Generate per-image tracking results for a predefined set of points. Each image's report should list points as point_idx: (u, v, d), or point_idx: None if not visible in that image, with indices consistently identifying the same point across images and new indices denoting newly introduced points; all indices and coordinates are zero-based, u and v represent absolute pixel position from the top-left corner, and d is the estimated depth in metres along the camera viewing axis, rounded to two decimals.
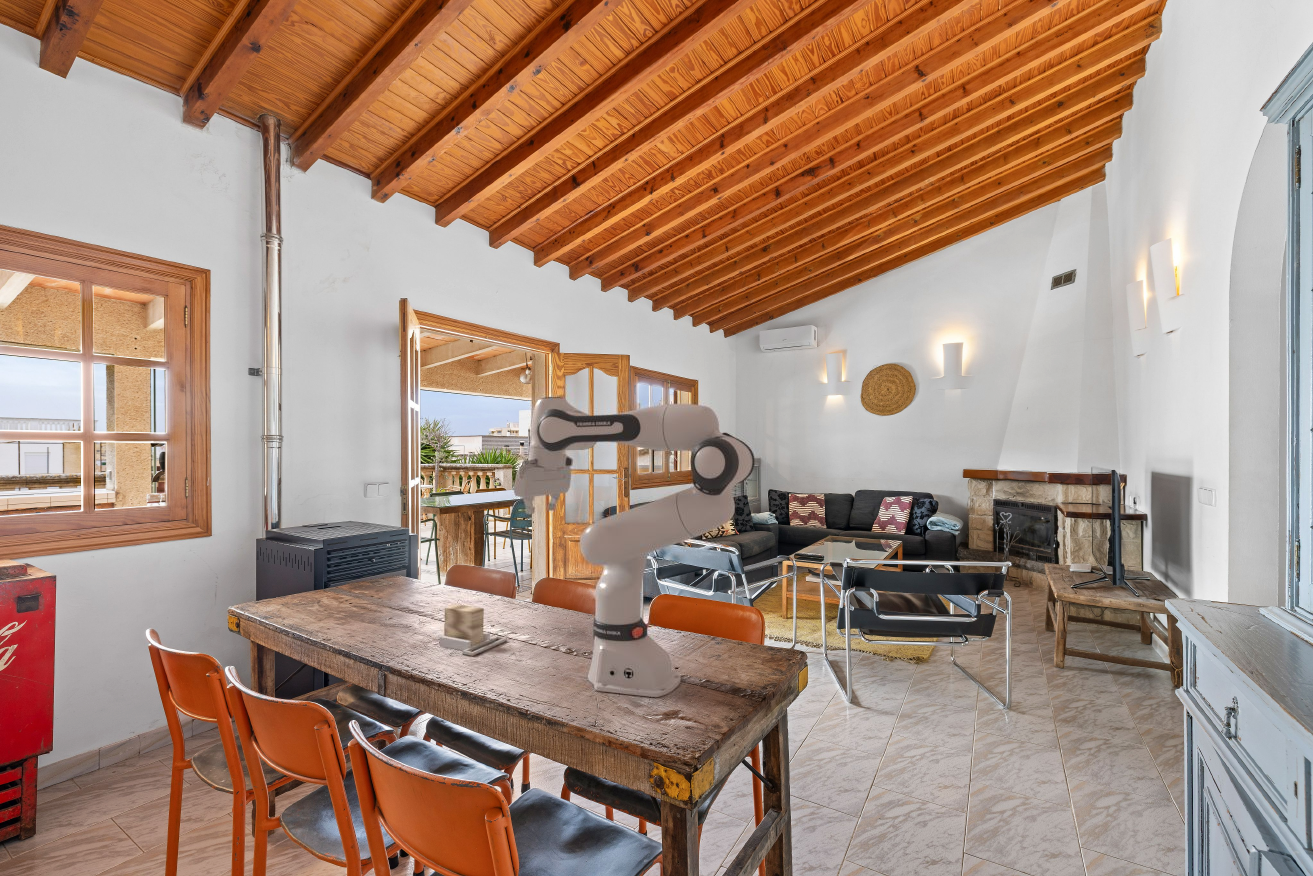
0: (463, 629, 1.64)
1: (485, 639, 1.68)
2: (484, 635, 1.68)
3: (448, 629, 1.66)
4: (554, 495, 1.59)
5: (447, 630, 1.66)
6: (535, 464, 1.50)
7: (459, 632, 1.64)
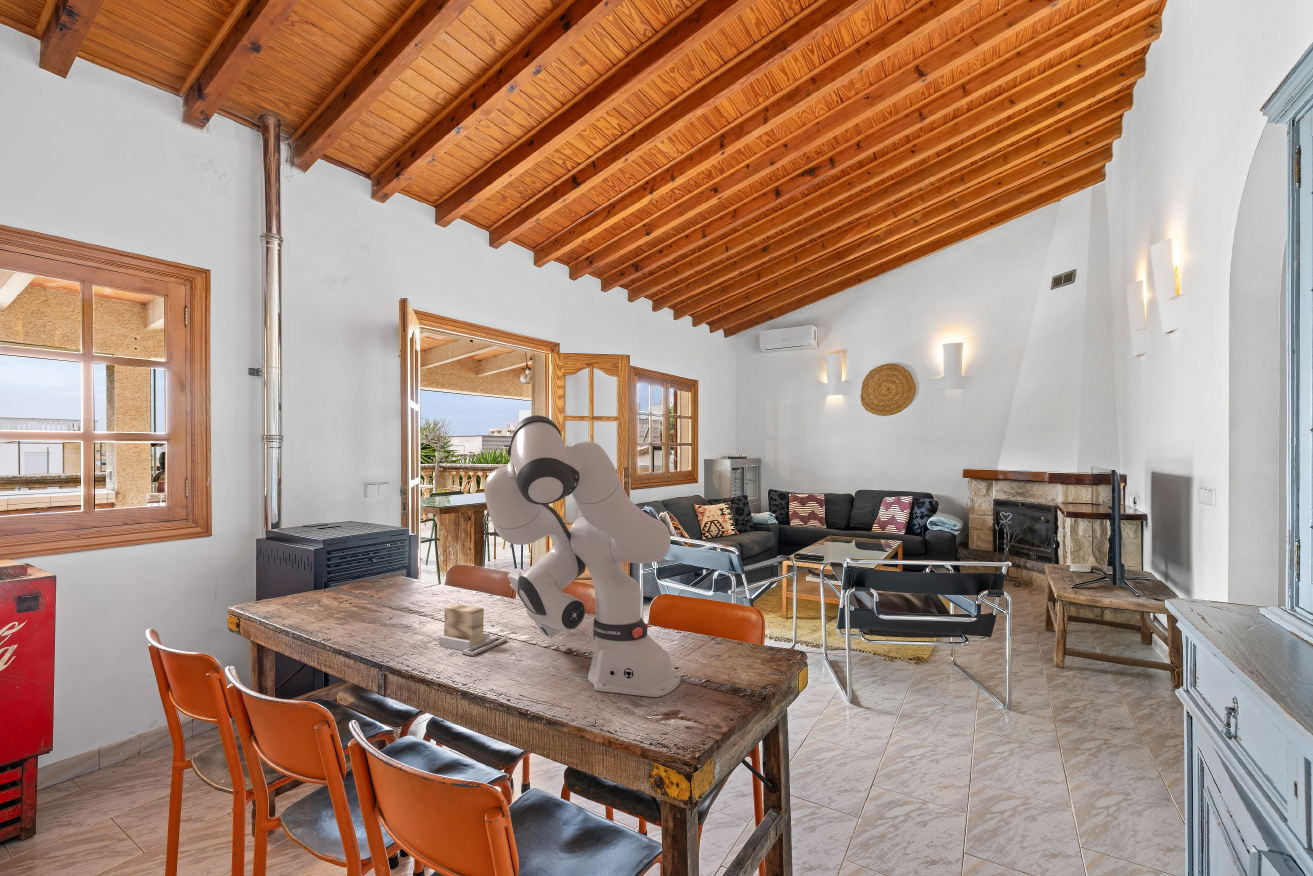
0: (463, 629, 1.64)
1: (485, 639, 1.68)
2: (484, 635, 1.68)
3: (448, 629, 1.66)
4: None
5: (447, 630, 1.66)
6: None
7: (459, 632, 1.64)
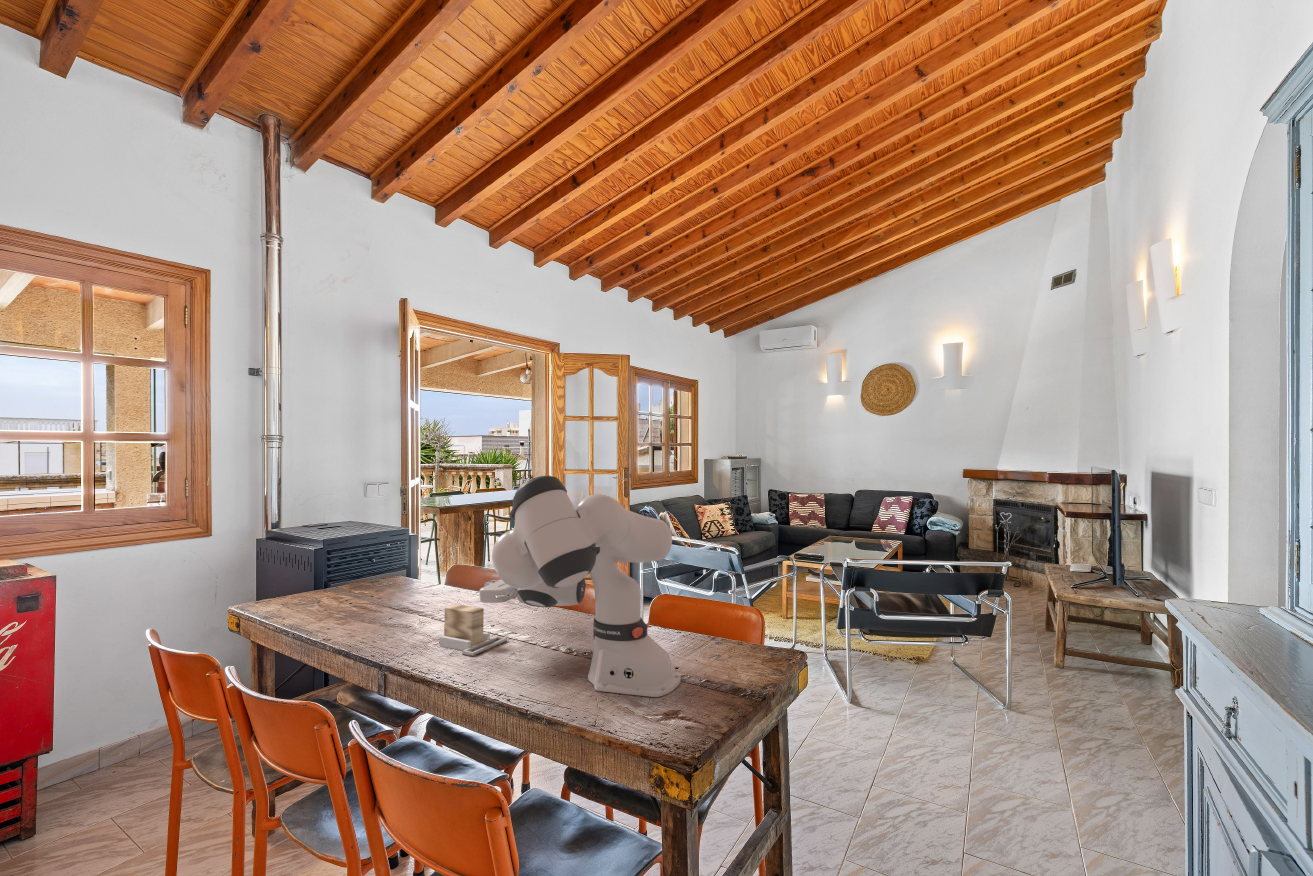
0: (463, 629, 1.64)
1: (485, 639, 1.68)
2: (484, 635, 1.68)
3: (448, 629, 1.66)
4: None
5: (447, 630, 1.66)
6: None
7: (459, 632, 1.64)
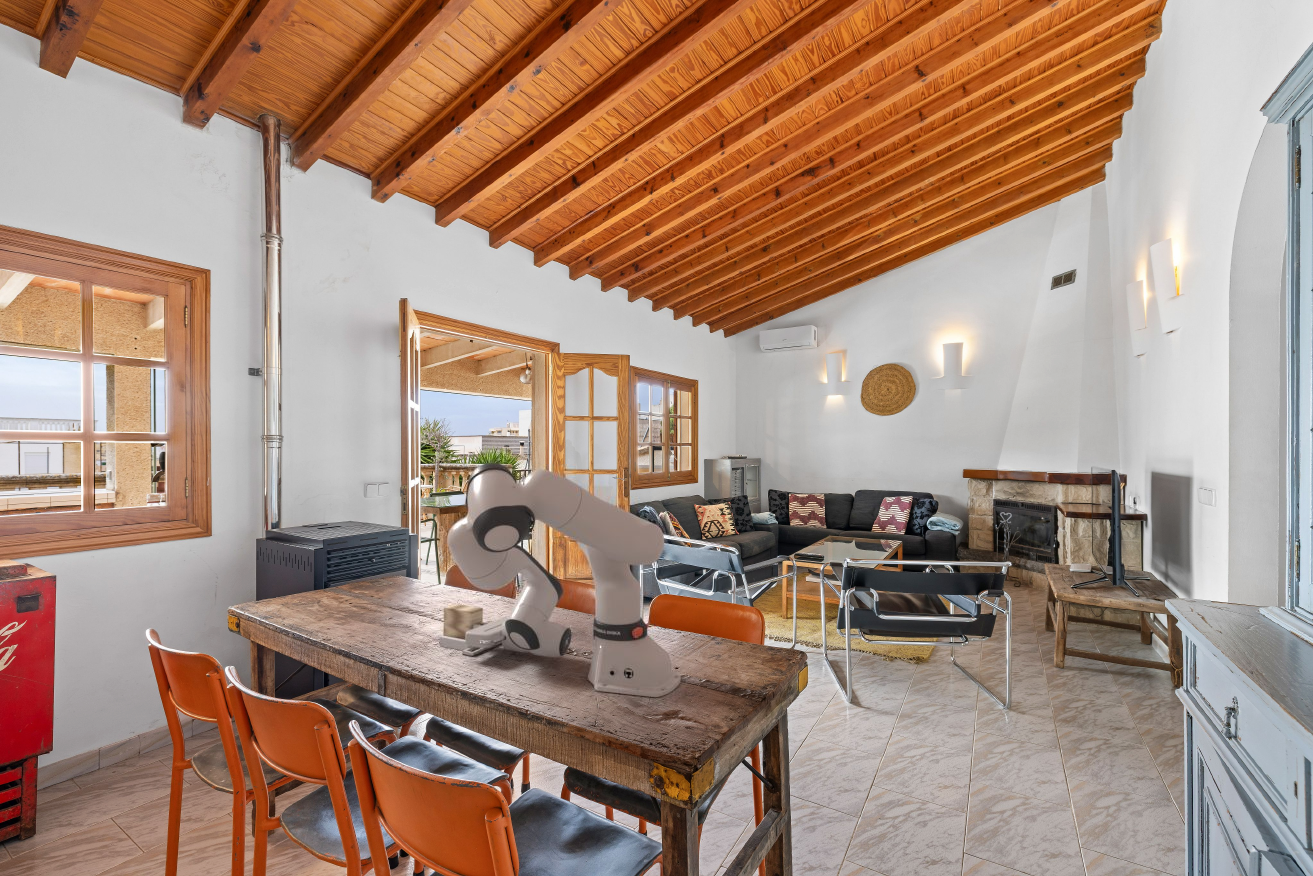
0: (462, 628, 1.64)
1: None
2: None
3: (447, 628, 1.66)
4: None
5: (446, 630, 1.66)
6: None
7: (458, 631, 1.65)
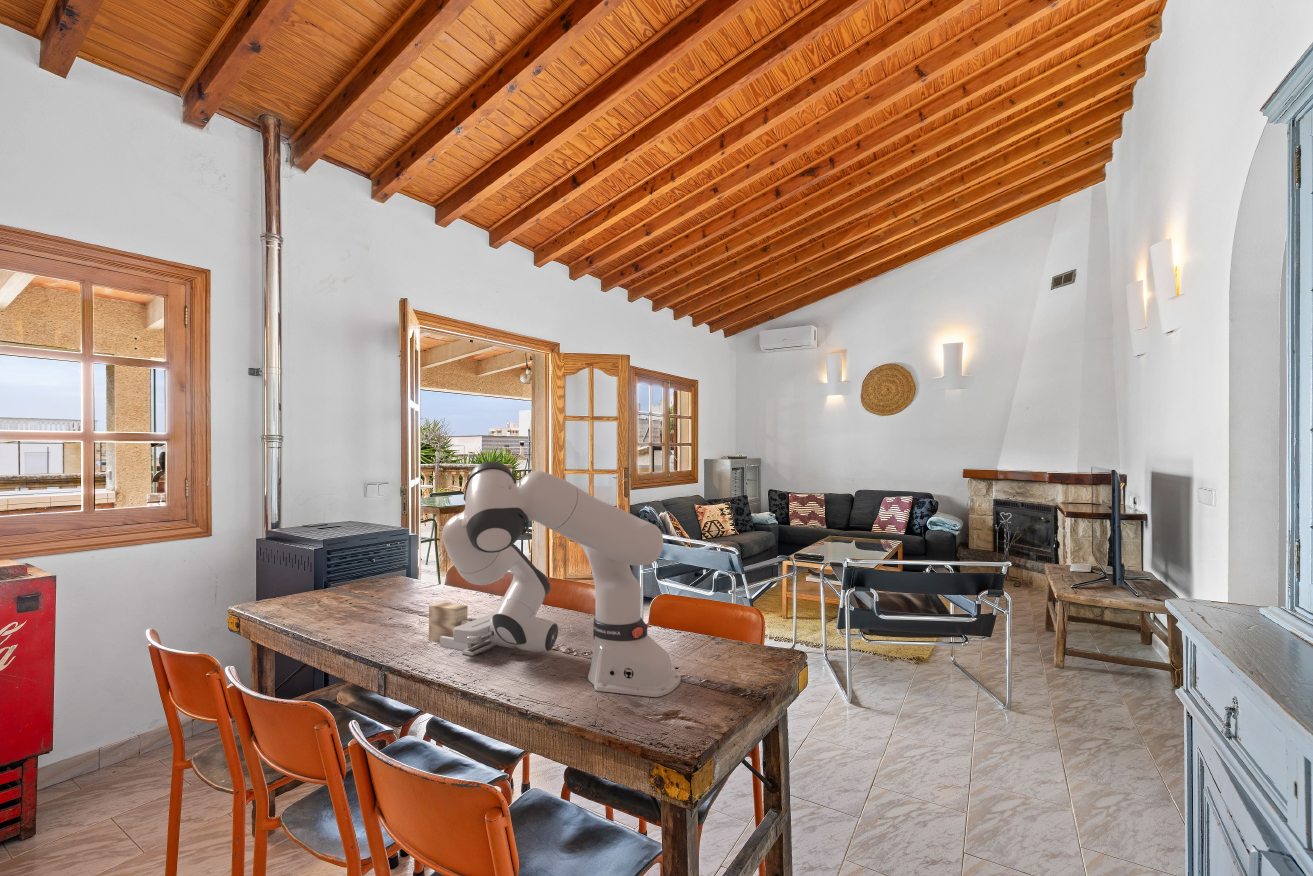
0: (447, 626, 1.66)
1: None
2: None
3: (432, 626, 1.69)
4: None
5: (431, 628, 1.69)
6: None
7: (443, 629, 1.67)
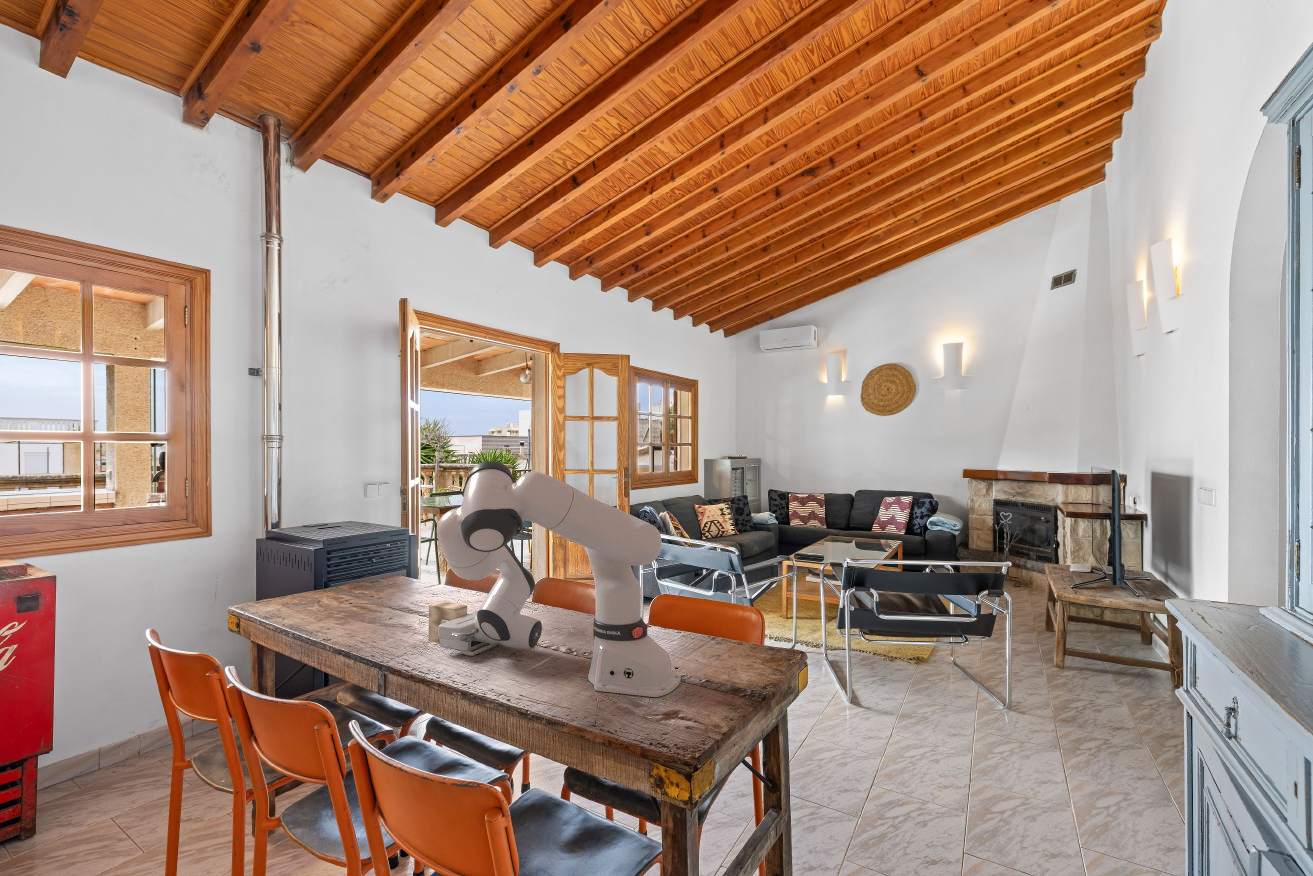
0: None
1: None
2: None
3: (432, 626, 1.69)
4: None
5: (431, 627, 1.69)
6: None
7: None
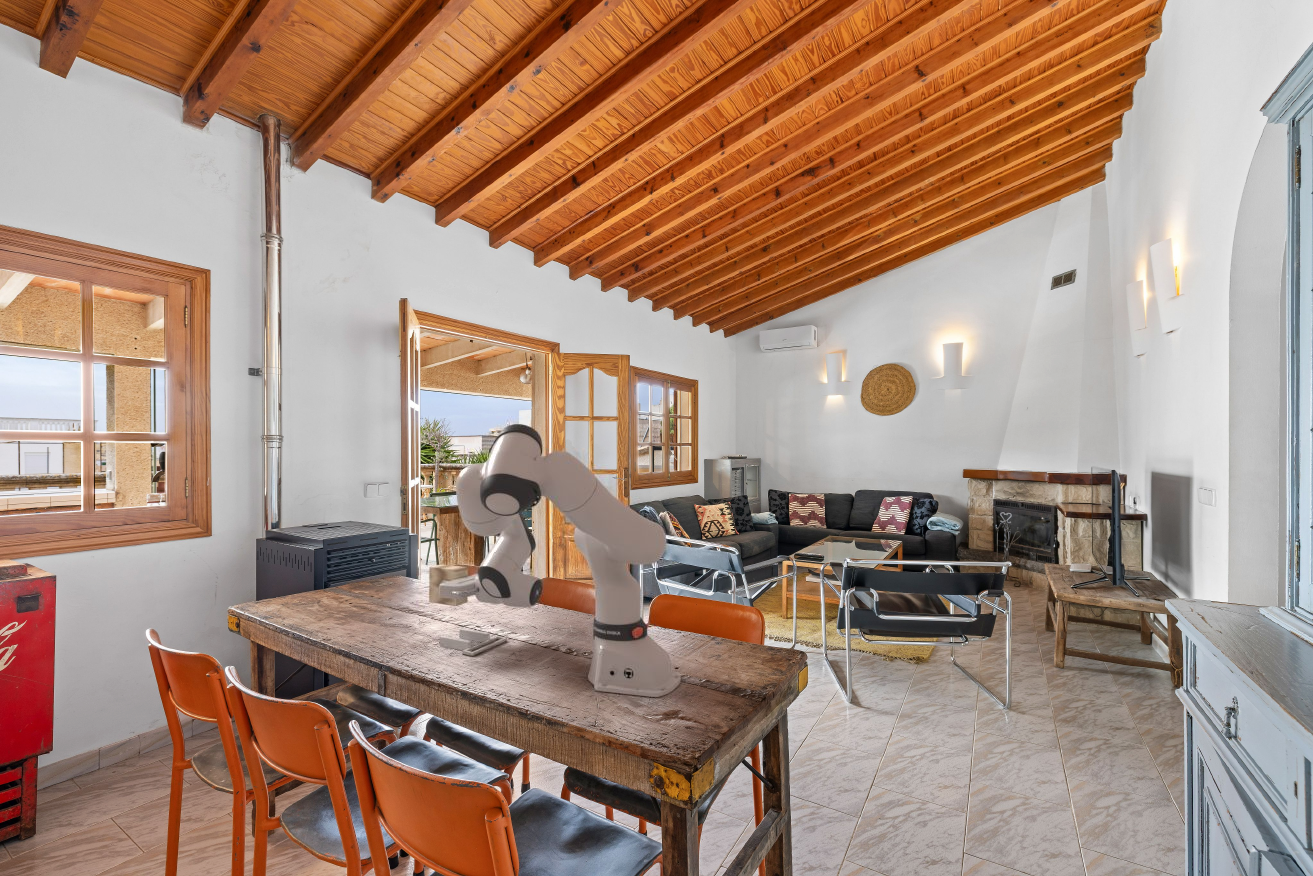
0: None
1: (485, 639, 1.68)
2: (484, 635, 1.68)
3: (433, 587, 1.69)
4: None
5: (431, 589, 1.69)
6: None
7: None
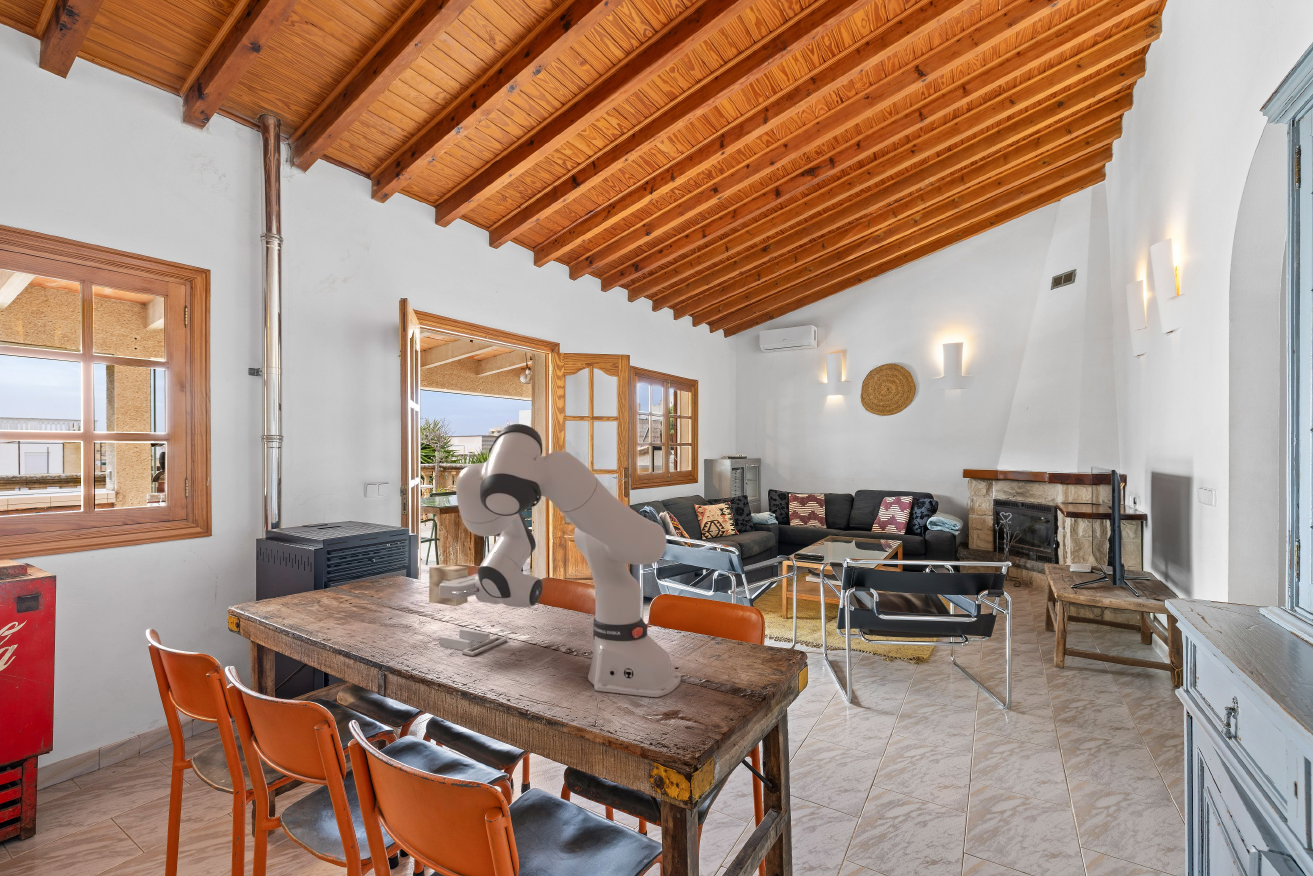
0: None
1: (485, 639, 1.68)
2: (484, 635, 1.68)
3: (433, 587, 1.69)
4: None
5: (431, 589, 1.69)
6: None
7: None
